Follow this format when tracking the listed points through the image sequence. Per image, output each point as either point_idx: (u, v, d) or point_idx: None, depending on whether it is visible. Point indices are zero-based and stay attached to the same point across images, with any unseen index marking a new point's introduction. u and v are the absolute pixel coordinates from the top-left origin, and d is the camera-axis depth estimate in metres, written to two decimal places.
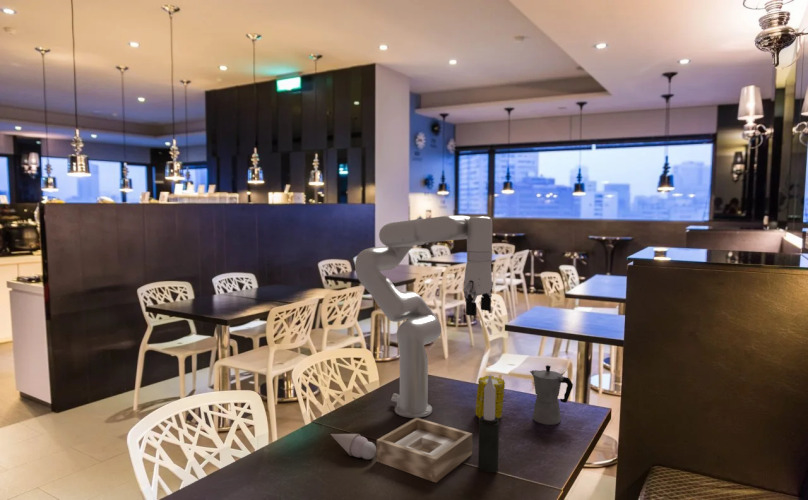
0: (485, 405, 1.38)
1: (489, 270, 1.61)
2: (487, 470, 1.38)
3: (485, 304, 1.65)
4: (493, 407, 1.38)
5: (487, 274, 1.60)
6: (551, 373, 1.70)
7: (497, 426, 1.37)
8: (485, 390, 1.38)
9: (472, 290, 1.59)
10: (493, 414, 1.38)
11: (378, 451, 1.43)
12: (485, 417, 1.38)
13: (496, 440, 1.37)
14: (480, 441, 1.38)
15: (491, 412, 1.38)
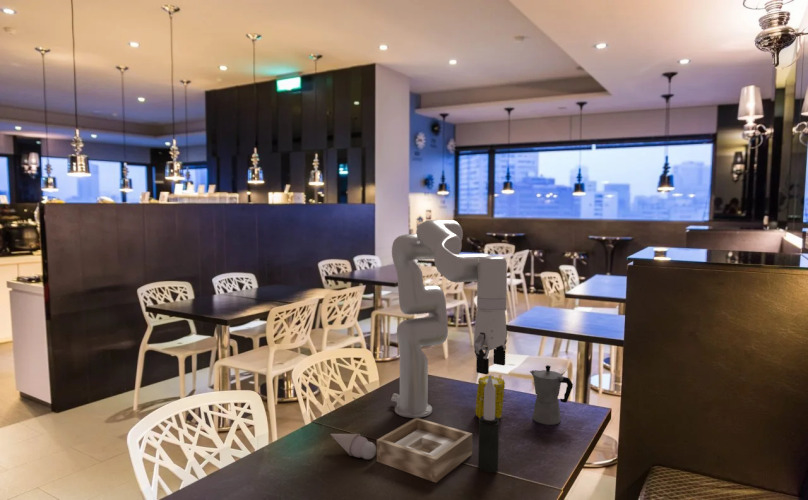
0: (485, 405, 1.38)
1: (503, 319, 1.37)
2: (487, 470, 1.38)
3: (499, 357, 1.41)
4: (493, 407, 1.38)
5: (501, 324, 1.36)
6: (551, 373, 1.70)
7: (497, 426, 1.37)
8: (485, 390, 1.38)
9: (484, 343, 1.35)
10: (493, 414, 1.38)
11: (378, 451, 1.43)
12: (485, 417, 1.38)
13: (496, 440, 1.37)
14: (480, 441, 1.38)
15: (491, 412, 1.38)
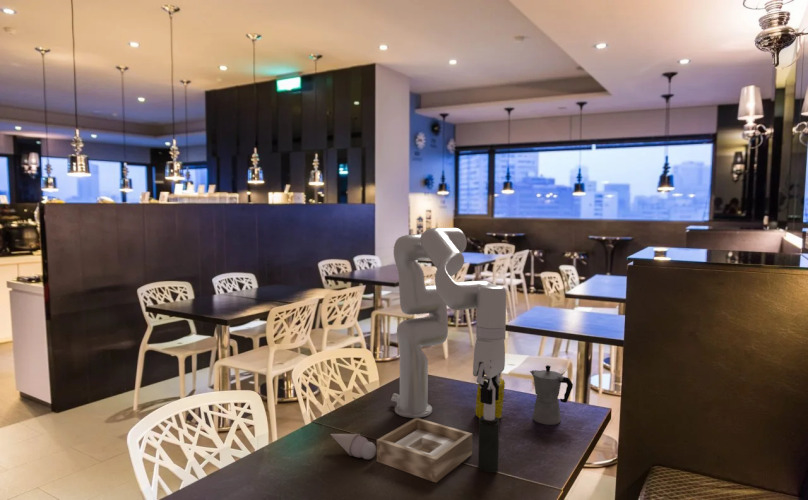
0: (485, 405, 1.38)
1: (502, 347, 1.38)
2: (487, 470, 1.38)
3: None
4: (493, 407, 1.38)
5: (500, 353, 1.37)
6: (551, 373, 1.70)
7: (497, 426, 1.37)
8: None
9: None
10: (493, 414, 1.38)
11: (378, 451, 1.43)
12: (485, 417, 1.38)
13: (496, 440, 1.37)
14: (480, 441, 1.38)
15: (491, 412, 1.38)
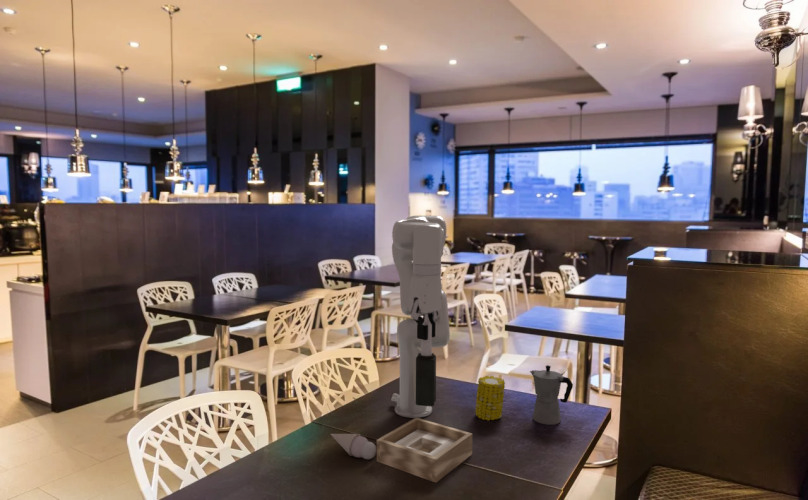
0: (422, 341, 1.42)
1: (438, 285, 1.42)
2: (423, 404, 1.42)
3: None
4: (430, 343, 1.42)
5: (435, 290, 1.41)
6: (551, 373, 1.70)
7: (433, 361, 1.41)
8: None
9: (420, 309, 1.41)
10: (429, 350, 1.42)
11: (378, 451, 1.43)
12: (422, 353, 1.42)
13: (432, 375, 1.41)
14: (417, 376, 1.42)
15: (427, 348, 1.42)
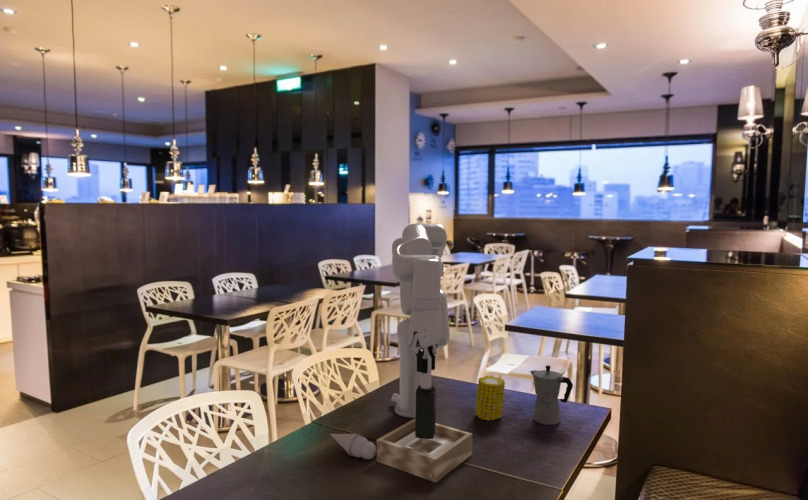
0: (421, 374, 1.43)
1: (438, 318, 1.43)
2: (423, 437, 1.42)
3: None
4: (429, 376, 1.42)
5: (435, 323, 1.41)
6: (551, 373, 1.70)
7: (432, 394, 1.41)
8: None
9: (420, 342, 1.41)
10: (429, 383, 1.43)
11: (378, 451, 1.43)
12: (421, 386, 1.43)
13: (431, 408, 1.42)
14: (416, 409, 1.42)
15: (427, 381, 1.42)
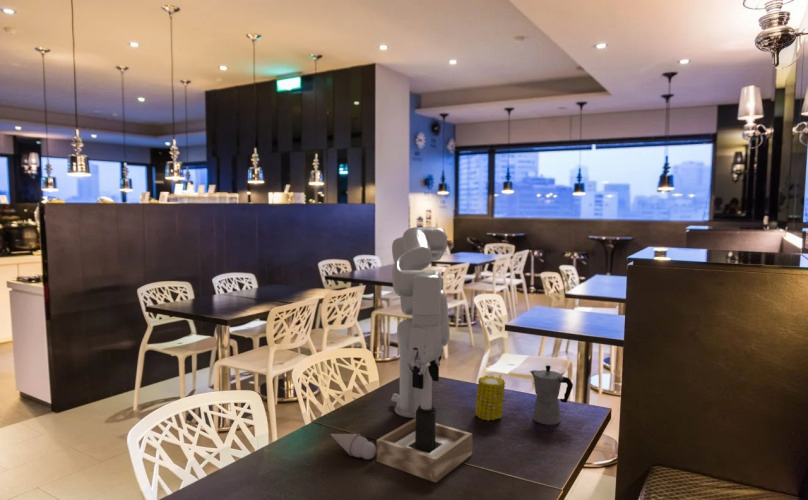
0: (422, 395, 1.44)
1: (437, 334, 1.43)
2: None
3: (432, 374, 1.46)
4: (430, 397, 1.43)
5: (435, 339, 1.42)
6: (551, 373, 1.70)
7: (432, 415, 1.42)
8: None
9: (418, 358, 1.41)
10: (429, 403, 1.43)
11: (378, 451, 1.43)
12: (422, 406, 1.44)
13: (431, 428, 1.42)
14: (416, 429, 1.43)
15: (427, 402, 1.43)
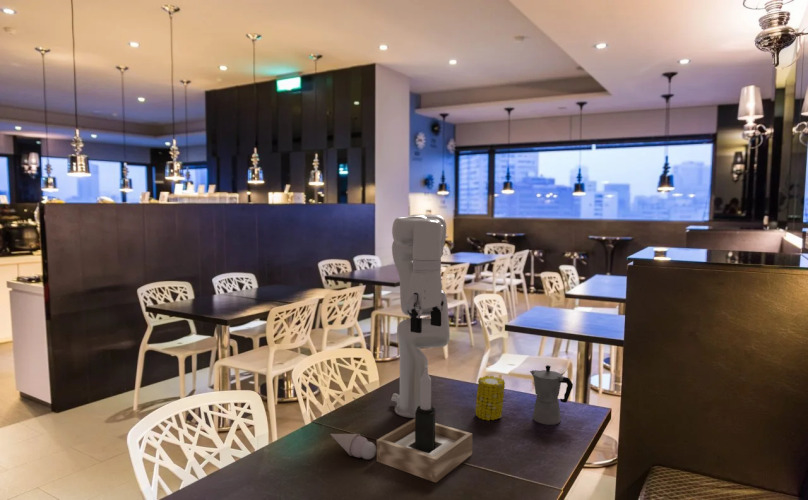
0: (421, 395, 1.44)
1: (438, 281, 1.42)
2: None
3: (435, 319, 1.46)
4: (429, 397, 1.43)
5: (435, 285, 1.41)
6: (551, 373, 1.70)
7: (432, 415, 1.42)
8: (421, 381, 1.43)
9: (418, 304, 1.40)
10: (429, 404, 1.43)
11: (378, 451, 1.43)
12: (421, 407, 1.44)
13: (431, 429, 1.42)
14: (416, 430, 1.43)
15: (427, 402, 1.43)
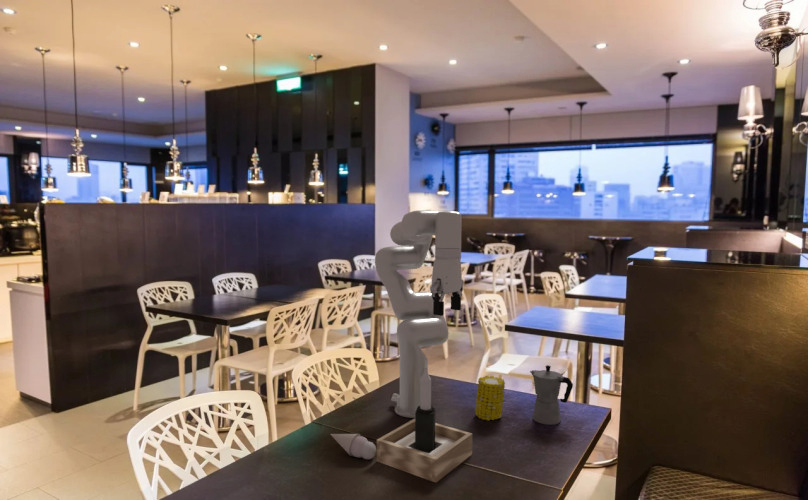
0: (421, 395, 1.44)
1: (458, 268, 1.54)
2: None
3: (455, 303, 1.58)
4: (429, 397, 1.43)
5: (456, 272, 1.52)
6: (551, 373, 1.70)
7: (432, 415, 1.42)
8: (421, 381, 1.43)
9: (440, 288, 1.51)
10: (429, 404, 1.43)
11: (378, 451, 1.43)
12: (421, 407, 1.44)
13: (431, 429, 1.42)
14: (416, 430, 1.43)
15: (427, 402, 1.43)
